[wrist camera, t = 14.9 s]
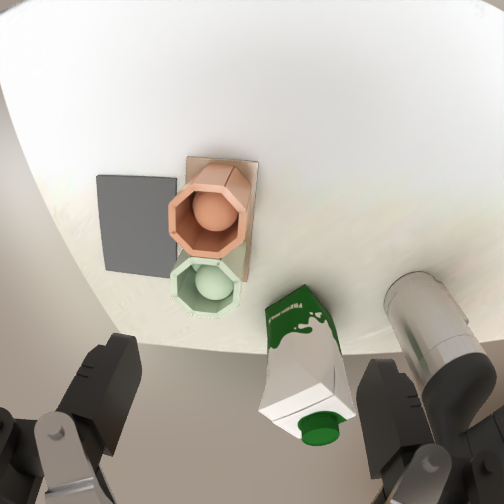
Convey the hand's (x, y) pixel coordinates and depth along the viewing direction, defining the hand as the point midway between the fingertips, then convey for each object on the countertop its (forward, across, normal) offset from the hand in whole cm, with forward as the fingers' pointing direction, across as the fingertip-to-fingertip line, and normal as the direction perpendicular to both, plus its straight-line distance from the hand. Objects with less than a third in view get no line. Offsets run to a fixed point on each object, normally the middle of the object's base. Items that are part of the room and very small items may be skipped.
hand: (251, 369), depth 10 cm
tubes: (+30, +5, +7) cm, 31 cm away
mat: (+30, +16, +9) cm, 35 cm away
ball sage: (+24, +6, +11) cm, 27 cm away
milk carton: (+30, -7, +20) cm, 37 cm away
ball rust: (+24, +6, +4) cm, 25 cm away
